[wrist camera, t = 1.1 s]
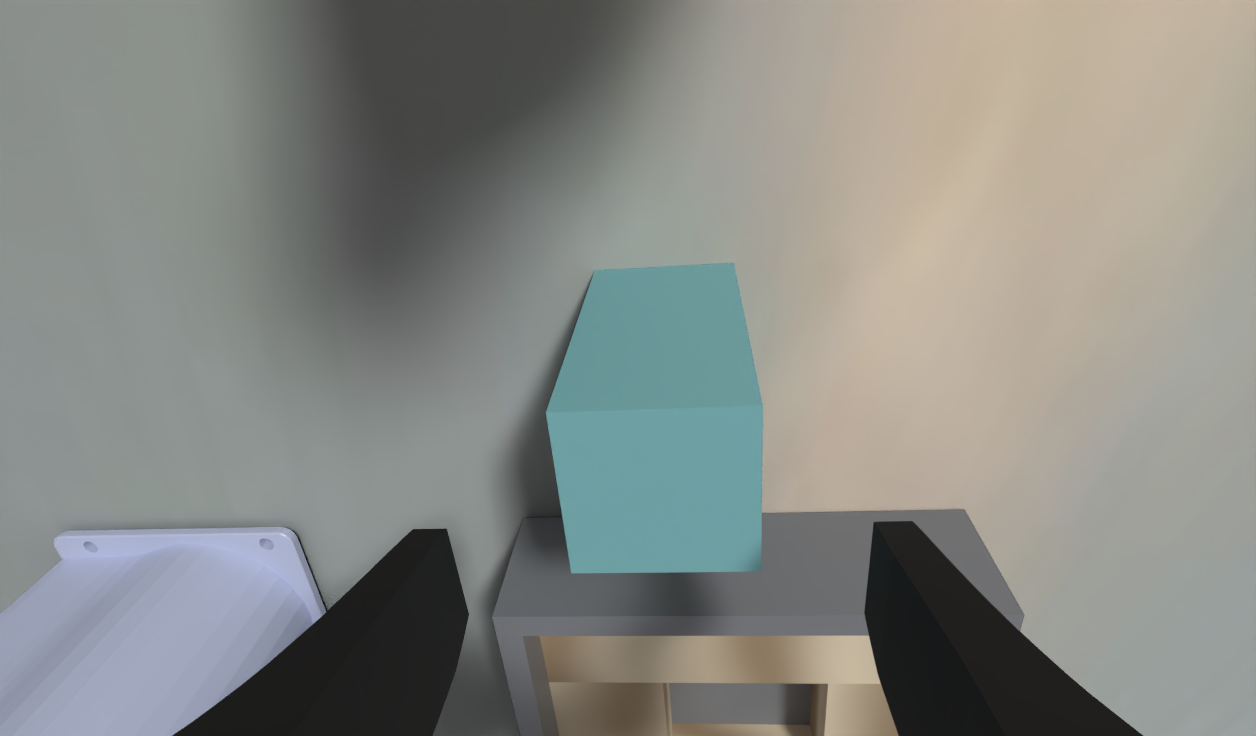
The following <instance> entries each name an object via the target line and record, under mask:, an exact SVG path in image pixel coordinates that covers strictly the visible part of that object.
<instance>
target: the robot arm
mask: <svg viewBox="0 0 1256 736" xmlns="http://www.w3.org/2000/svg"><path fill="white" fill-rule="evenodd" d="M267 539H268V540H267ZM269 540H270V541H272V542H270V541H269ZM54 545H55V548H56V550H57V551H58V553H59V555H60V556H61V558H62V560H61V561H60V562H59V563H58V564H56V565H55V566H54V567H53V568H52V569H51V570H50V571H48V572H47V573H46V574H45V575H44V576H43V577H42V578H40V579H39V580H38V581H37V582H36V583H35V584H34V585H32V586H31V587H30V588H29V589H28V590H27V591H26V592H25V593H23V594H22V595H21V596H20V597H19V598H18V599H17V600H15V601H14V602H13V603H12V604H11V605H10V606H9V607H7V608H6V609H5V610H4V611H3V612H2V613H1V614H0V736H432V735H433V732H434V730H435V727H436V724H437V722H438V719H439V716H440V714H441V711H442V708H443V705H444V702H445V700H446V697H447V694H448V691H449V689H450V686H451V683H452V680H453V677H454V675H455V672H456V668H457V664H458V660H459V656H460V652H461V647H462V643H463V639H464V634H465V630H466V625H467V620H468V616H469V613H468V609H467V606H466V602H465V598H464V594H463V590H462V586H461V582H460V578H459V575H458V571H457V567H456V563H455V559H454V555H453V551H452V548H451V544H450V540H449V536H448V532H447V529H413V530H412V531H411V532H410V533H409V534H407V535H406V536H405V537H404V538H403V539H402V540H401V541H400V542H399V543H398V544H397V545H396V546H395V547H394V548H393V549H392V550H391V551H390V552H388V553H387V554H386V555H385V556H384V557H383V558H382V559H381V560H380V561H379V562H378V563H377V564H376V565H375V566H374V567H373V568H372V569H371V570H370V571H369V572H368V573H367V574H366V575H365V576H364V577H363V578H362V579H361V580H360V581H359V582H358V583H357V584H355V585H354V586H353V587H352V588H351V589H350V590H349V591H348V592H347V593H346V594H345V595H344V596H343V597H342V598H341V599H340V600H339V601H338V602H336V603H335V604H334V605H333V606H332V607H331V608H330V609H329V610H328V611H327V612H326V610H325V607H324V605H323V602H322V600H321V597H320V594H319V592H318V589H317V587H316V584H315V582H314V579H313V576H312V574H311V571H310V569H309V566H308V564H307V561H306V558H305V556H304V553H303V551H302V548H301V545H300V543H299V540H298V538H297V536H296V534H295V533H294V532H293V531H292V530H290V529H288V528H285V527H248V528H194V529H139V530H85V531H64V532H62V533H61V534H60V535H59V536H58V537H56V538H55V539H54ZM864 614H865V619H866V624H867V629H868V633H869V638H870V643H871V647H872V652H873V656H874V660H875V665H876V669H877V673H878V677H879V680H880V683H881V686H882V689H883V692H884V694H885V697H886V700H887V703H888V706H889V709H890V712H891V715H892V718H893V721H894V724H895V727H896V730H897V732H898V735H899V736H1143V735H1142V734H1140V733H1139V732H1138V731H1136V730H1135V729H1134V728H1133V727H1131V726H1130V725H1129V724H1127V723H1126V722H1125V721H1124V720H1122V719H1121V718H1120V717H1119V716H1117V715H1116V714H1115V713H1114V712H1112V711H1111V710H1110V709H1108V708H1107V707H1106V706H1105V705H1103V704H1102V703H1101V702H1100V701H1098V700H1097V699H1096V698H1095V697H1093V696H1092V695H1091V694H1090V693H1088V692H1087V691H1086V690H1085V689H1084V688H1082V687H1081V686H1080V685H1079V684H1078V683H1077V682H1075V681H1074V680H1073V679H1072V678H1071V677H1070V676H1068V675H1067V674H1066V673H1065V672H1064V671H1063V670H1062V669H1061V668H1059V667H1058V666H1057V665H1056V664H1055V663H1054V662H1053V661H1052V660H1050V659H1049V658H1048V657H1047V656H1046V655H1045V654H1044V653H1043V652H1042V651H1040V650H1039V649H1038V648H1037V647H1036V646H1035V645H1034V644H1033V643H1032V642H1031V641H1030V640H1029V639H1027V638H1026V637H1025V636H1024V635H1023V634H1022V633H1021V632H1020V631H1019V630H1018V629H1017V628H1016V627H1015V626H1014V625H1013V624H1012V623H1011V622H1010V621H1009V620H1008V619H1007V618H1006V617H1005V616H1004V615H1003V614H1002V613H1001V612H1000V611H999V610H998V609H997V608H996V607H994V606H993V605H992V604H991V603H990V602H989V601H988V600H987V599H986V598H985V597H984V596H983V595H982V594H981V593H980V592H979V591H978V589H977V588H976V587H975V586H974V585H973V584H972V583H971V582H970V581H969V580H968V579H967V578H966V577H965V576H964V575H963V574H962V573H961V572H960V571H959V570H958V569H957V568H956V567H955V565H954V564H953V563H952V562H951V561H950V560H949V559H948V558H947V557H946V556H945V555H944V554H943V553H942V552H941V550H940V549H939V548H938V547H937V546H936V545H935V544H934V543H933V542H932V541H931V540H930V538H929V537H928V536H927V535H926V534H925V533H924V532H923V531H922V530H921V529H920V528H919V527H918V526H917V525H916V524H915V523H914V522H913V521H882V522H874V524H873V533H872V543H871V553H870V562H869V572H868V582H867V591H866V601H865V610H864Z"/></svg>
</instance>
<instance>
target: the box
mask: <svg viewBox="0 0 1256 736" xmlns="http://www.w3.org/2000/svg"><path fill="white" fill-rule="evenodd" d="M882 521H913V522H914V523H915V524H916V525H917V526H918V527H919V528H920V529H921V530H922V531H923V532H924V533H925V534H926V535H927V536H928V537H929V538H930V540H931V541H932V542H933V543H934V544H935V545H936V546H937V547H938V548H939V549H940V550H941V552H942V553H943V554H944V555H945V556H946V557H947V558H948V559H949V560H950V561H951V562H952V563H953V564H954V565H955V567H956V568H957V569H958V570H959V571H960V572H961V573H962V574H963V575H964V576H965V577H966V578H967V579H968V580H969V581H970V582H971V583H972V584H973V585H974V586H975V587H976V588H977V589H978V591H979V592H980V593H981V594H982V595H983V596H984V597H985V598H986V599H987V600H988V601H989V602H990V603H991V604H992V605H993V606H994V607H996V608H997V609H998V610H999V611H1000V612H1001V613H1002V614H1003V615H1004V616H1005V617H1006V618H1007V619H1008V620H1009V621H1010V622H1011V623H1012V624H1013V625H1014V626H1015V627H1016V628H1017V629H1018V630H1019V631H1020V630H1021V626H1022V622H1023V618H1024V613H1023V611H1022V610H1021V608H1020V606H1019V604H1018V603H1017V601H1016V599H1015V597H1014V596H1013V594H1012V592H1011V590H1010V589H1009V587H1008V585H1007V583H1006V582H1005V580H1004V578H1003V576H1002V575H1001V573H1000V571H999V569H998V568H997V566H996V564H995V562H994V560H993V559H992V557H991V555H990V553H989V552H988V550H987V548H986V546H985V545H984V543H983V541H982V539H981V538H980V536H979V534H978V532H977V531H976V529H975V527H974V525H973V524H972V522H971V520H970V518H969V517H968V515H967V513H966V511H965V510H964V509H962V510H909V511H857V512H804V513H762V541H761V572H669V573H571V568H570V562H569V556H568V549H567V543H566V537H565V530H564V524H563V518H562V517H541V518H523V520H522V523H521V527H520V530H519V533H518V536H517V539H516V543H515V546H514V549H513V552H512V555H511V558H510V562H509V565H508V568H507V571H506V574H505V577H504V581H503V584H502V587H501V590H500V593H499V596H498V600H497V603H496V606H495V609H494V612H493V615H492V619H493V623H494V627H495V632H496V636H497V640H498V644H499V648H500V653H501V657H502V661H503V665H504V669H505V674H506V678H507V682H508V686H509V690H510V695H511V699H512V703H513V707H514V712H515V716H516V720H517V724H518V728H519V733H520V736H559V731H558V726H557V721H556V716H555V711H554V706H553V701H552V696H551V691H550V686H549V681H548V676H547V671H546V666H545V660H544V655H543V650H542V645H541V640H540V636H869V633H868V629H867V624H866V619H865V614H864V610H865V601H866V591H867V582H868V572H869V562H870V553H871V543H872V533H873V524H874V522H882ZM669 690H670V703H671V715H672V723H681V724H769V725H810V713H811V696H812V684H794V683H669Z"/></svg>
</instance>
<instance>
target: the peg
mask: <svg viewBox="0 0 1256 736" xmlns="http://www.w3.org/2000/svg"><path fill="white" fill-rule="evenodd" d="M546 417H547V423H548V430H549V436H550V442H551V448H552V455H553V461H554V467H555V474H556V480H557V486H558V493H559V499H560V505H561V511H562V518H563V524H564V530H565V537H566V543H567V549H568V556H569V562H570V568H571V573H669V572H761V541H762V429H763V404H762V399H761V395H760V390H759V385H758V380H757V375H756V370H755V365H754V360H753V355H752V350H751V345H750V340H749V335H748V331H747V326H746V321H745V316H744V311H743V306H742V301H741V296H740V291H739V286H738V281H737V276H736V271H735V267H734V263H720V264H702V265H684V266H666V267H647V268H629V269H611V270H595V271H594V274H593V277H592V280H591V283H590V286H589V289H588V291H587V294H586V297H585V300H584V303H583V306H582V309H581V312H580V315H579V318H578V321H577V324H576V326H575V329H574V332H573V335H572V338H571V341H570V344H569V347H568V350H567V353H566V356H565V358H564V361H563V364H562V367H561V370H560V373H559V376H558V379H557V382H556V385H555V388H554V391H553V393H552V396H551V399H550V402H549V405H548V408H547V411H546Z"/></svg>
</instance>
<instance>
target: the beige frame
mask: <svg viewBox="0 0 1256 736" xmlns="http://www.w3.org/2000/svg"><path fill="white" fill-rule="evenodd" d="M540 640H541V645H542V650H543V655H544V660H545V666H546V671H547V676H548V681H549V686H550V691H551V696H552V701H553V706H554V711H555V716H556V721H557V726H558V731H559V736H899V735H898V732H897V730H896V727H895V724H894V721H893V718H892V715H891V712H890V709H889V706H888V703H887V700H886V697H885V694H884V692H883V689H882V686H881V683H880V680H879V677H878V673H877V669H876V665H875V660H874V656H873V652H872V647H871V643H870V638H869V636H540ZM669 683H794V684H812V696H811V713H810V725H769V724H681V723H672V715H671V703H670V690H669Z"/></svg>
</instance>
